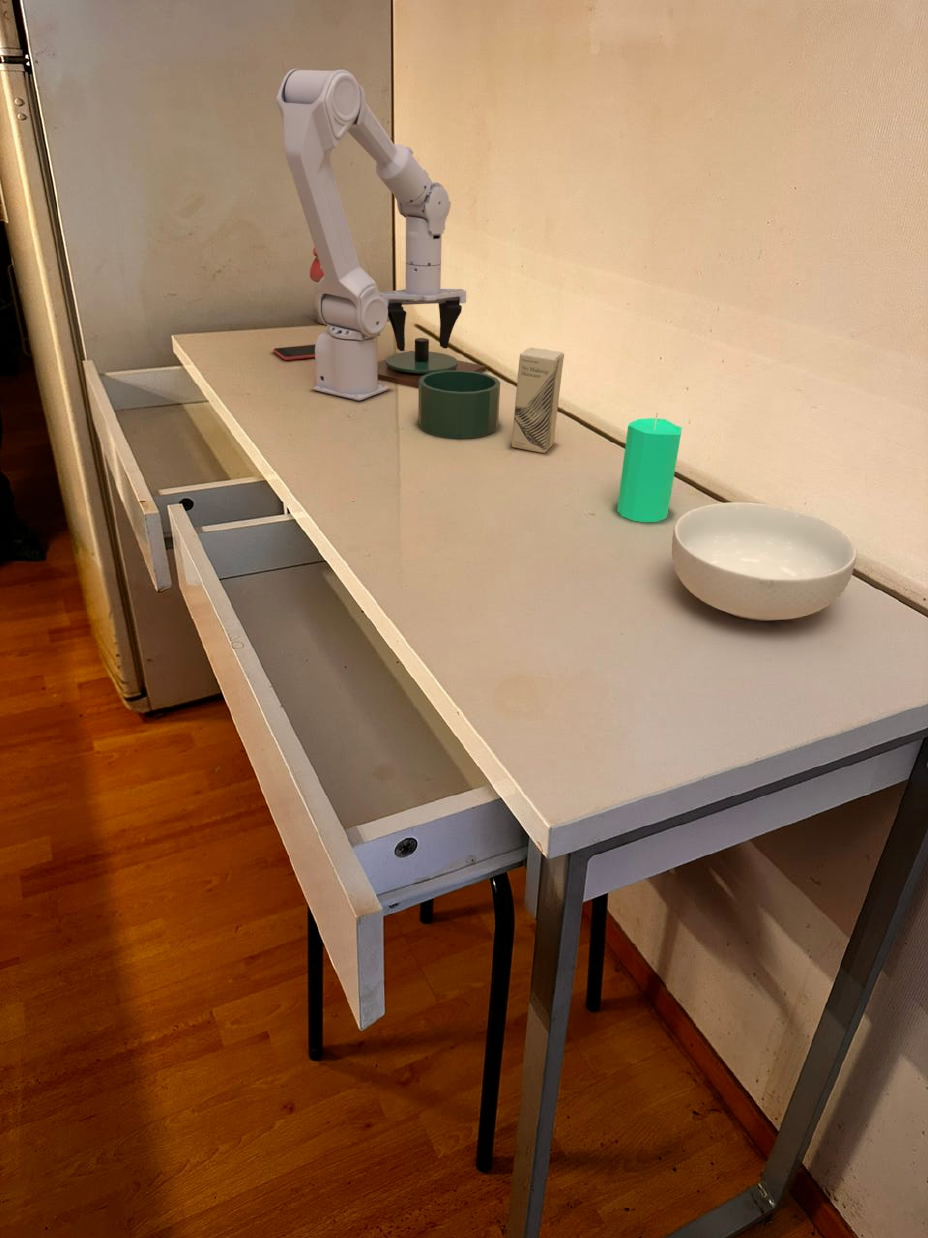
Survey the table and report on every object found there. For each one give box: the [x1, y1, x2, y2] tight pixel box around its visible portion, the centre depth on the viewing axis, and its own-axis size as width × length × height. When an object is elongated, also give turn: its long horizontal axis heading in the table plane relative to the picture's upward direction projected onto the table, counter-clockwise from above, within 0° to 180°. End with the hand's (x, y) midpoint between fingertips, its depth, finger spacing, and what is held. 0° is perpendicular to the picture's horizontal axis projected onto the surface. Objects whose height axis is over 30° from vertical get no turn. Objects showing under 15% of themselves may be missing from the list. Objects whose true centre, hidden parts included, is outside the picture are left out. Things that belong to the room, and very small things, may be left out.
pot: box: [417, 370, 501, 440], centre depth 129 cm, size 11×11×6 cm
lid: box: [384, 337, 458, 374], centre depth 153 cm, size 12×12×5 cm
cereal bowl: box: [671, 501, 858, 622], centre depth 86 cm, size 17×17×7 cm
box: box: [511, 347, 565, 454], centre depth 121 cm, size 5×4×13 cm
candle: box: [616, 412, 683, 523], centre depth 103 cm, size 6×6×12 cm
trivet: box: [377, 350, 487, 389], centre depth 154 cm, size 16×16×1 cm
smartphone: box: [273, 343, 316, 361], centre depth 162 cm, size 7×1×14 cm
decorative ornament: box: [309, 246, 326, 326], centre depth 180 cm, size 9×7×15 cm
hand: (422, 348), depth 152 cm, fingers open, 7 cm apart
